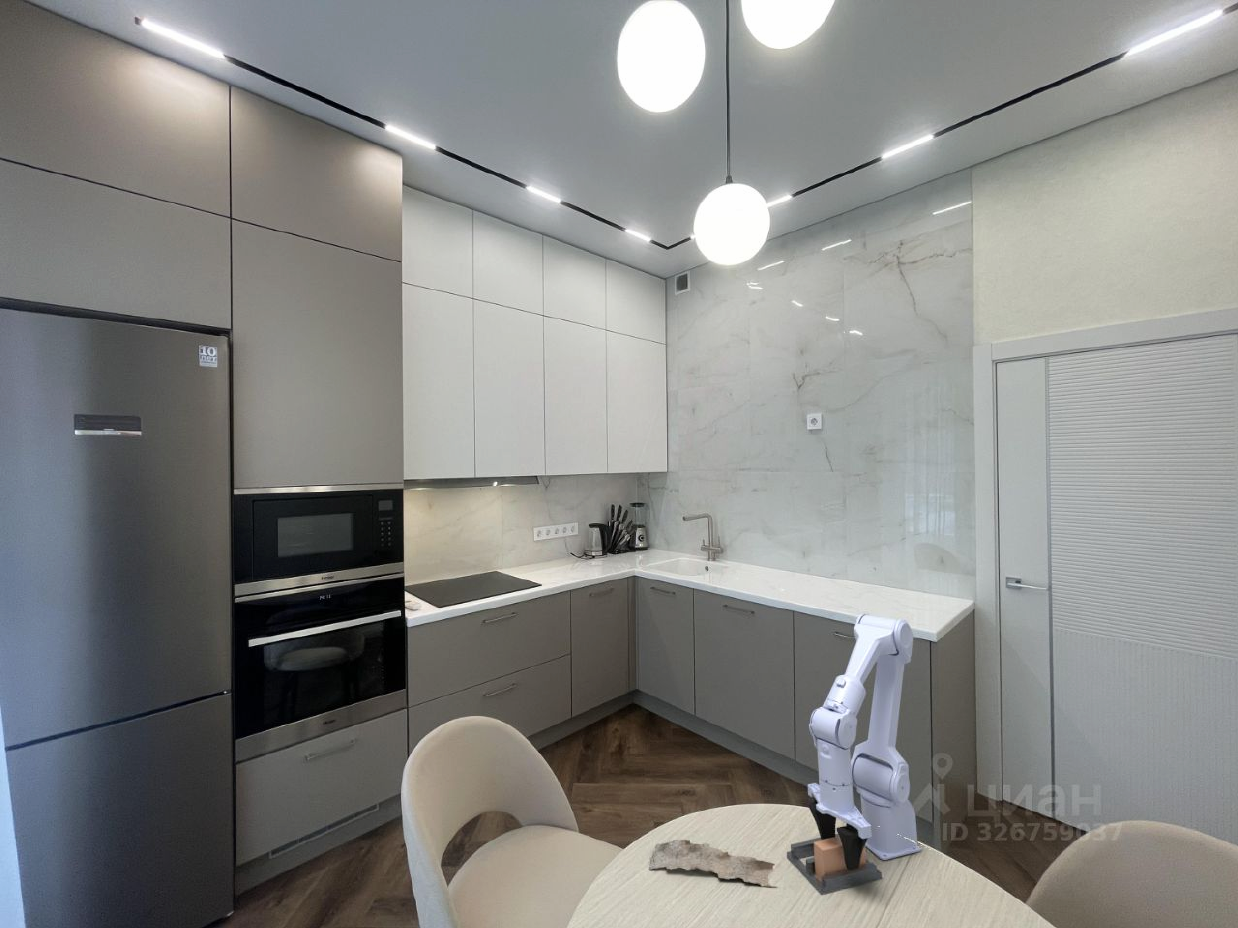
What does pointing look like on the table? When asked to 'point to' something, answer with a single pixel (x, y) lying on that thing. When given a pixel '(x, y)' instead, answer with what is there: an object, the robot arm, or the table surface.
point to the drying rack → (835, 879)
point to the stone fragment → (710, 861)
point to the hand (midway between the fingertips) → (840, 856)
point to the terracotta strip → (831, 857)
